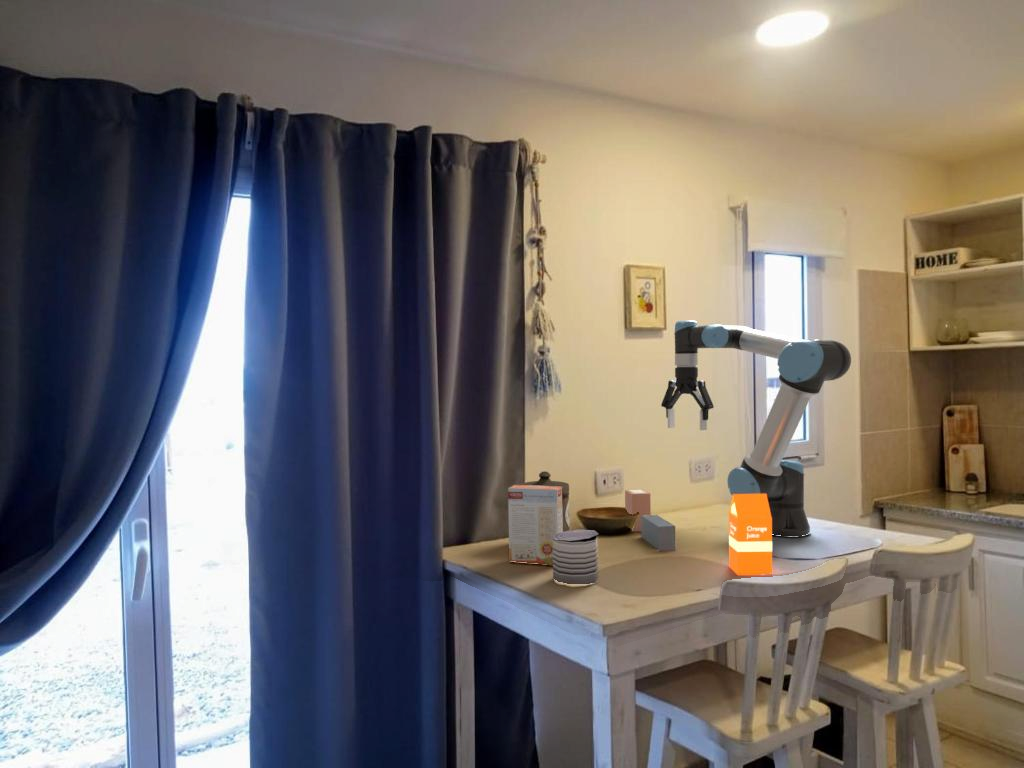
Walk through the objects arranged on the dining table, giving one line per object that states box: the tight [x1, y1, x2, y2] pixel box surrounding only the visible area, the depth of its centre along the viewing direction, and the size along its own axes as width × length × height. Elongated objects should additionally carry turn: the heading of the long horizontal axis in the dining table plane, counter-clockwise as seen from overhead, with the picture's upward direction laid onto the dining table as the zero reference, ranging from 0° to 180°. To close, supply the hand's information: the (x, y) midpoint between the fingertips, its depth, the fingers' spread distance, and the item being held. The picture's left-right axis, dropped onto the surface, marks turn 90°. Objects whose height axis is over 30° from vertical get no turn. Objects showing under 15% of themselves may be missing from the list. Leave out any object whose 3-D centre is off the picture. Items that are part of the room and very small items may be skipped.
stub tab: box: [624, 489, 652, 532], centre depth 233 cm, size 8×6×12 cm
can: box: [552, 529, 599, 584], centre depth 178 cm, size 11×11×12 cm
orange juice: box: [728, 494, 773, 576], centre depth 184 cm, size 8×9×20 cm
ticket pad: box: [640, 514, 676, 552], centre depth 214 cm, size 16×5×7 cm, turn 8°
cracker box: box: [507, 484, 563, 565], centre depth 195 cm, size 14×6×21 cm, turn 71°
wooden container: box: [520, 470, 571, 532], centre depth 215 cm, size 15×15×22 cm
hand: (686, 428), depth 243 cm, fingers open, 13 cm apart
